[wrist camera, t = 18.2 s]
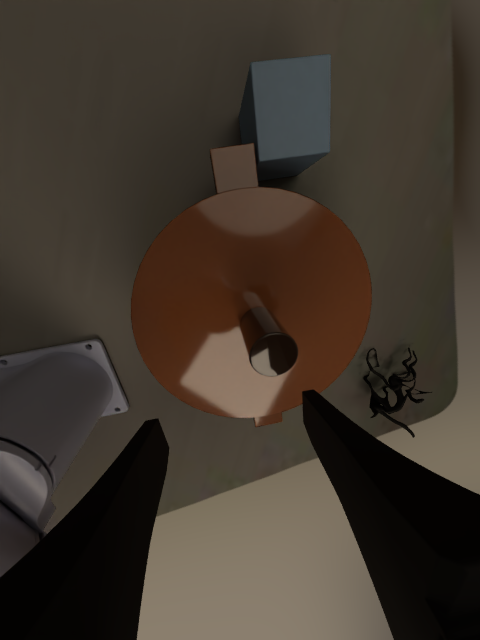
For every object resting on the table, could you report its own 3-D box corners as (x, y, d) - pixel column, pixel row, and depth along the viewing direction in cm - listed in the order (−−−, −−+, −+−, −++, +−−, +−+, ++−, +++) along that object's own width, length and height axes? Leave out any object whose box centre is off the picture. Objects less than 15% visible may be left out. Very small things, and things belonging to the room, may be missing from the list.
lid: (172, 425, 18) (157, 495, 13) (97, 212, 12) (21, 197, 7) (356, 386, 18) (406, 439, 14) (368, 172, 13) (461, 133, 8)
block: (245, 182, 16) (259, 161, 12) (238, 115, 15) (250, 61, 10) (297, 175, 17) (330, 152, 12) (295, 108, 15) (331, 52, 11)
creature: (371, 329, 24) (335, 393, 24) (423, 341, 18) (376, 423, 19) (417, 358, 26) (383, 417, 26) (474, 377, 21) (432, 450, 21)
